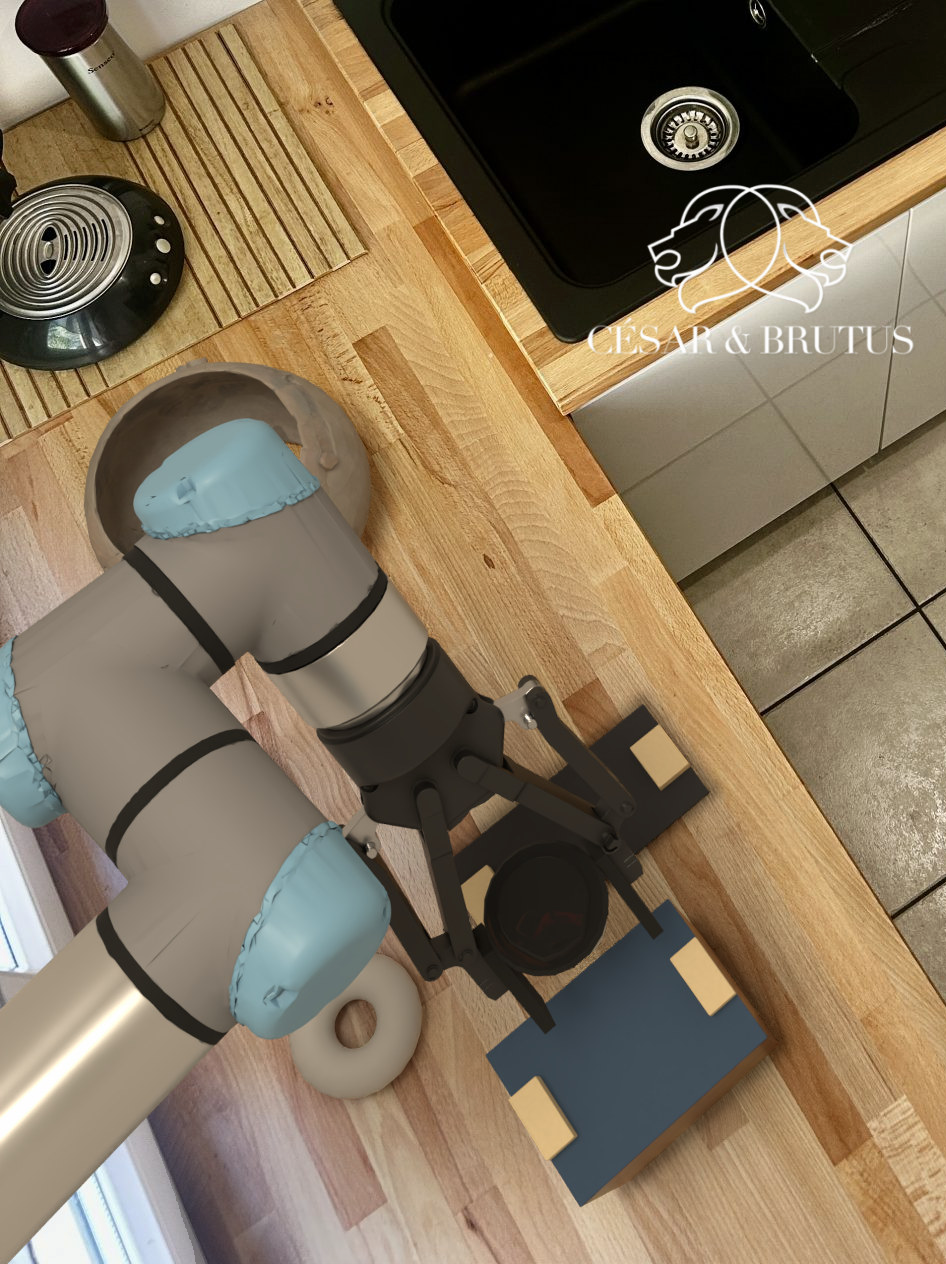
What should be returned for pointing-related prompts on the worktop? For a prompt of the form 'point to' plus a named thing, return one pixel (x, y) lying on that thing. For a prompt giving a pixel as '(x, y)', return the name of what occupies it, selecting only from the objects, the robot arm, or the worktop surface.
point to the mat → (593, 803)
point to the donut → (385, 1051)
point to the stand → (708, 1098)
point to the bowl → (199, 405)
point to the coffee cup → (546, 908)
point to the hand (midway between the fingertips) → (597, 968)
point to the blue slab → (625, 1052)
